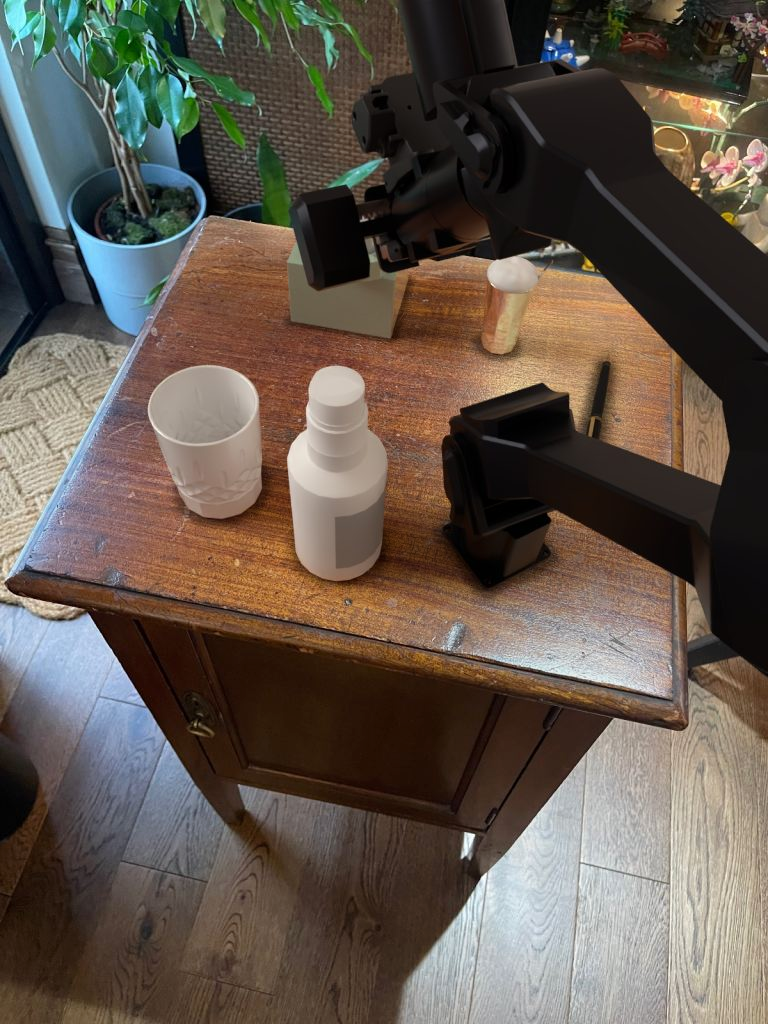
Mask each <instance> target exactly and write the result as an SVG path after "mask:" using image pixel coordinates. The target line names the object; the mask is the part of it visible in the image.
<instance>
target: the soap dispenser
mask: <svg viewBox="0 0 768 1024" xmlns="http://www.w3.org/2000/svg"><path fill="white" fill-rule="evenodd" d="M368 255H369V259H370V277H369V278H367V279H364V280H361V281H358V282H355V283H351V284H347V285H343V286H339V287H335V288H331V289H327V290H323V291H319V292H318V291H316V290H315V289H313V288H312V287H310V286H309V285H308V282H307V278H306V274H305V271H304V267H303V263H302V259H301V256H300V252H299V248H298V245H297V241H295V243H294V244H293V248H292V249H291V252H290V254H289V256H288V258H287V261H286V268H287V281H288V295H289V296H288V297H289V311H290V321H291V322H293V323H298V324H305V325H309V326H316V327H321V328H326V329H331V330H332V329H333V330H338V331H344V332H350V333H356V334H362V335H366V336H372V337H378V338H385V339H389V340H390V339H392V337H393V332H394V329H395V326H396V323H397V319H398V316H399V312H400V309H401V305H402V302H403V299H404V295H405V291H406V288H407V284H408V282H409V271H410V269H406V270H401V271H397V272H393V273H385V272H383V271H382V270H381V269H380V267H379V264H378V259H377V255H376V251H375V252H374V253H372V254H368Z"/></svg>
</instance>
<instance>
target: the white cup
mask: <svg viewBox="0 0 768 1024" xmlns="http://www.w3.org/2000/svg"><path fill="white" fill-rule="evenodd" d="M147 414H148V415H147V416H148V419H149V422H150V424H151V427H152V429H153V432H154V435H155V437H156V440H157V443H158V445H159V448H160V451H161V453H162V456H163V458H164V461H165V463H166V466H167V468H168V471H169V473H170V476H171V478H172V480H173V482H174V484H175V486H176V488H177V491H178V494H179V496H180V498H181V499H182V501H183V502H184V504H185V506H186V507H187V510H190V511H192V512H194V513H195V514H197V515H199V516H200V517H202V518H207V519H208V518H209V519H219V520H224V519H228V518H231V517H234V516H238V515H241V514H242V513H244V512H245V511H246V510H248V509H249V508H250V507H252V506H253V505H254V504H255V503H256V502H257V499H258V498H259V496H260V494H261V493H262V490H263V481H262V464H263V447H262V445H263V444H262V442H263V441H262V439H263V437H262V427H261V426H262V425H261V409H260V397H259V394H258V391H257V388H256V386H255V385H254V383H253V382H252V381H251V380H250V379H249V378H248V377H247V376H246V375H244V374H242V373H241V372H239V371H237V370H234V369H232V368H229V367H226V366H221V365H212V364H203V365H202V364H201V365H195V366H190V367H186V368H184V369H181V370H178V371H176V372H174V373H172V374H171V375H169V376H167V377H166V378H164V379H163V380H162V381H161V382H160V383H159V384H158V385H157V386H156V387H155V388H154V390H153V391H152V393H151V395H150V398H149V400H148V405H147Z"/></svg>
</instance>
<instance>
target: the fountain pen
mask: <svg viewBox="0 0 768 1024" xmlns="http://www.w3.org/2000/svg"><path fill="white" fill-rule="evenodd" d="M610 361H611V355H610V352H608V353H607V354H606V355H605V357H604V360H603V362H602V364H601V369H600V371H599V372H600V373H599V377H598V381H597V384H596V389H595V392H594V397H593V401H592V406H591V411H590V415H589V417H588V421H587V425H586V426H587V427H586V431H585V435H588V436H590V437H593V438H596V439H598V440H600V436H601V430H602V425H603V422H604V419H603V416H604V411H605V406H606V401H607V392H608V387H609V380H610V372H611V365H612V362H610Z"/></svg>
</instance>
